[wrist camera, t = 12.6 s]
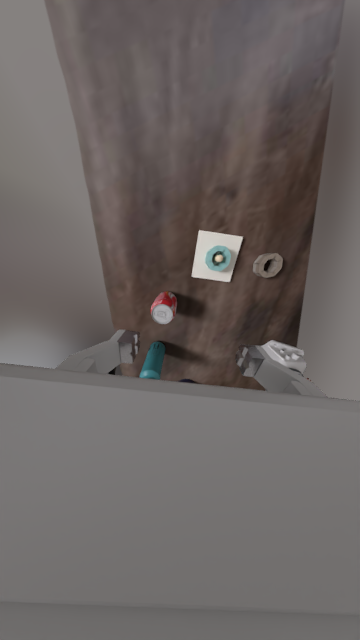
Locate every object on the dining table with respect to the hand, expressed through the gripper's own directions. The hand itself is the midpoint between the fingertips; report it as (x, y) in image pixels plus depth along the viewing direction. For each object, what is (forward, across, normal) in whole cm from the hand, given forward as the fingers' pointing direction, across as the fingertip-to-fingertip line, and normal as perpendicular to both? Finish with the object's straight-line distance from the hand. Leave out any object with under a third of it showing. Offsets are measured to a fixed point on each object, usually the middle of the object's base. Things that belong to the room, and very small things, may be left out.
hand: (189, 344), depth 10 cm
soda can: (+34, +5, +8) cm, 36 cm away
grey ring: (+34, -23, -7) cm, 42 cm away
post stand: (+34, -8, -7) cm, 36 cm away
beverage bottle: (+34, +7, +28) cm, 45 cm away
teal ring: (+33, -8, -7) cm, 35 cm away
